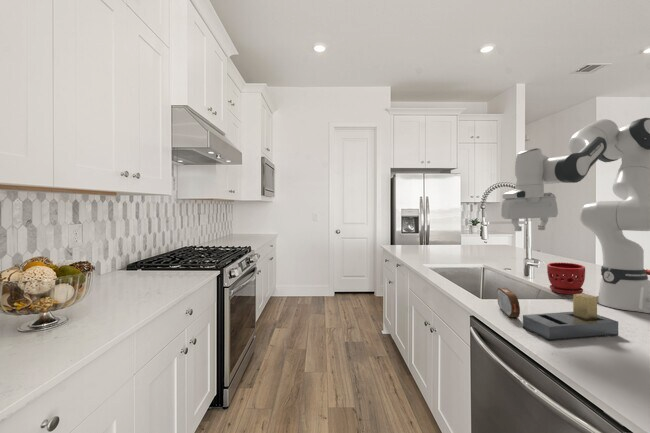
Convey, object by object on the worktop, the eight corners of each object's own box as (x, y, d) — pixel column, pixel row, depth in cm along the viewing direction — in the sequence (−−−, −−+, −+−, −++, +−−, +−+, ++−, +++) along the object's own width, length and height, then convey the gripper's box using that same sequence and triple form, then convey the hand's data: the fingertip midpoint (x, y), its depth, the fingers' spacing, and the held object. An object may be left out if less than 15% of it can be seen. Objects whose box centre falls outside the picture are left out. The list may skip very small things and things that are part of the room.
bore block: (585, 323, 101) (585, 310, 101) (618, 335, 91) (618, 321, 91) (522, 327, 99) (522, 315, 99) (549, 340, 89) (549, 326, 89)
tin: (521, 321, 104) (520, 295, 104) (510, 320, 105) (510, 295, 105) (504, 307, 119) (504, 284, 119) (495, 306, 120) (495, 284, 120)
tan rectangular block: (582, 325, 98) (582, 293, 98) (597, 329, 94) (597, 296, 94) (573, 326, 97) (573, 294, 97) (587, 331, 93) (587, 298, 93)
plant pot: (543, 287, 146) (543, 261, 145) (578, 289, 141) (578, 262, 140) (552, 295, 133) (552, 266, 133) (590, 297, 129) (590, 268, 128)
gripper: (548, 192, 121) (548, 228, 121) (498, 194, 119) (499, 231, 119) (562, 191, 115) (562, 230, 115) (510, 193, 112) (510, 232, 113)
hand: (530, 230), depth 117 cm, fingers open, 8 cm apart
